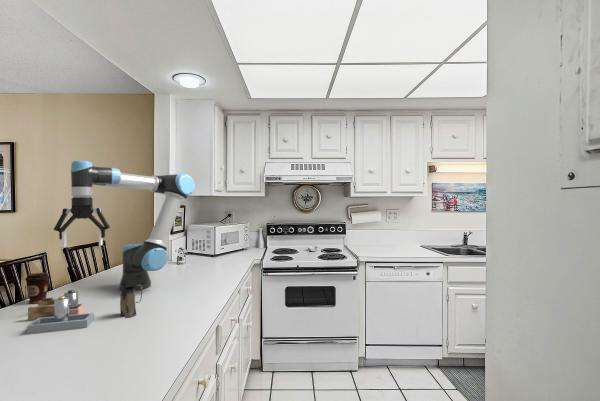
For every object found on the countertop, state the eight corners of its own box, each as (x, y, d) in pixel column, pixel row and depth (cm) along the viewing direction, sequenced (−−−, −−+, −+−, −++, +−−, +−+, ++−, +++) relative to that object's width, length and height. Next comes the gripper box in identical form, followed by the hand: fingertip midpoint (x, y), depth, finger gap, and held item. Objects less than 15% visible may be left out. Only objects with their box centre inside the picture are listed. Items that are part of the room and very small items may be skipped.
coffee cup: (35, 305, 144) (34, 276, 144) (20, 304, 146) (19, 275, 146) (53, 299, 153) (53, 272, 153) (39, 298, 154) (38, 271, 154)
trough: (94, 321, 125) (93, 312, 125) (87, 329, 118) (87, 320, 118) (38, 327, 120) (38, 318, 120) (27, 335, 112) (27, 326, 112)
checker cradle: (69, 310, 137) (69, 296, 137) (60, 319, 127) (59, 303, 127) (38, 313, 134) (38, 298, 134) (26, 322, 124) (26, 306, 124)
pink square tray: (84, 315, 131) (84, 303, 131) (78, 321, 125) (78, 308, 125) (64, 317, 129) (64, 305, 129) (57, 324, 123) (56, 310, 122)
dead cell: (79, 315, 130) (79, 288, 130) (75, 319, 125) (75, 291, 125) (67, 316, 128) (66, 289, 128) (62, 320, 124) (62, 292, 124)
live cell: (71, 323, 122) (71, 294, 121) (66, 327, 117) (66, 298, 117) (57, 324, 120) (57, 295, 120) (52, 329, 116) (52, 299, 116)
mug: (118, 318, 127) (118, 288, 127) (122, 313, 133) (122, 284, 133) (140, 316, 129) (140, 286, 129) (143, 312, 135) (143, 283, 135)
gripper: (116, 196, 147) (117, 243, 147) (51, 197, 140) (52, 246, 140) (112, 196, 140) (113, 245, 140) (43, 197, 133) (44, 249, 133)
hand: (82, 246), depth 140 cm, fingers open, 13 cm apart
